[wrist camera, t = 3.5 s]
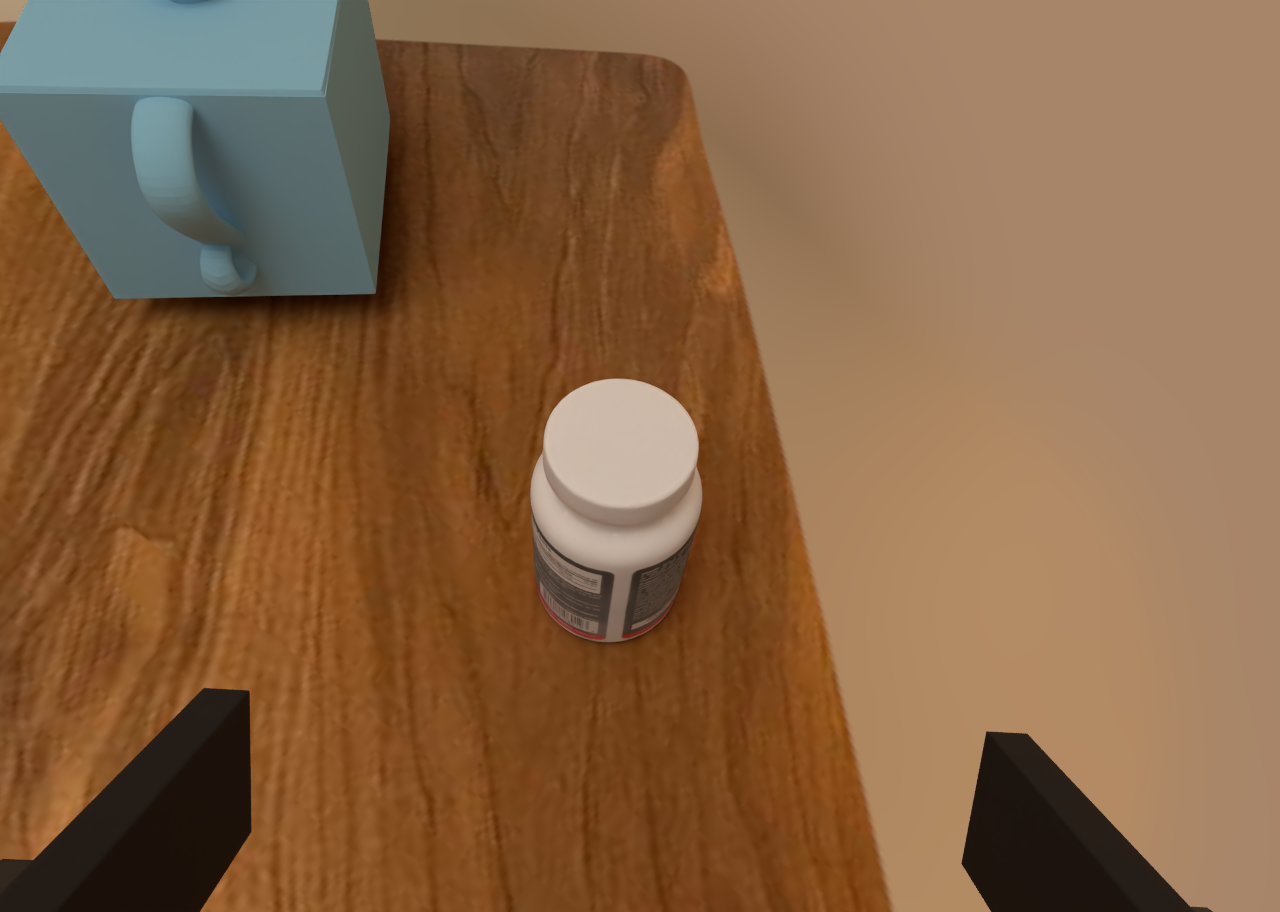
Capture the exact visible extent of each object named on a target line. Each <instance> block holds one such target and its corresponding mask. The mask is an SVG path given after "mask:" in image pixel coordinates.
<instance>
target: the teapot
mask: <svg viewBox="0 0 1280 912" xmlns="http://www.w3.org/2000/svg"><path fill="white" fill-rule="evenodd" d="M0 120H1V121H2V123H3V125H4V126H5V128H6V129H7V131H8V132H9V134H10V136H11V137H12V139H13V140H14V142H15V143H16V145H17V147H18V148H19V150H20V151H21V153H22V154H23V156H24V157H25V159H26V161H27V162H28V164H29V165H30V167H31V168H32V170H33V172H34V173H35V175H36V176H37V178H38V179H39V181H40V183H41V184H42V186H43V187H44V189H45V190H46V192H47V194H48V195H49V197H50V198H51V200H52V201H53V203H54V204H55V206H56V208H57V209H58V211H59V212H60V214H61V215H62V217H63V219H64V220H65V222H66V223H67V225H68V226H69V228H70V230H71V231H72V233H73V234H74V236H75V237H76V239H77V240H78V242H79V244H80V245H81V247H82V248H83V250H84V251H85V253H86V255H87V256H88V258H89V259H90V261H91V262H92V264H93V266H94V267H95V269H96V270H97V272H98V273H99V275H100V277H101V278H102V280H103V281H104V283H105V284H106V286H107V287H108V289H109V291H110V292H111V294H112V295H113V297H114V298H115V299H135V298H185V297H239V296H287V295H343V294H376V285H377V274H378V262H379V251H380V239H381V227H382V216H383V204H384V192H385V179H386V167H387V155H388V142H389V129H390V114H389V109H388V103H387V98H386V93H385V87H384V82H383V77H382V72H381V66H380V61H379V56H378V50H377V45H376V40H375V34H374V29H373V24H372V18H371V13H370V8H369V3H368V0H28V2H27V4H26V6H25V8H24V10H23V11H22V13H21V15H20V17H19V19H18V21H17V23H16V25H15V26H14V28H13V30H12V32H11V34H10V36H9V38H8V40H7V42H6V44H5V46H4V47H3V49H2V51H1V53H0Z"/></svg>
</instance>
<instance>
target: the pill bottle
mask: <svg viewBox="0 0 1280 912" xmlns="http://www.w3.org/2000/svg"><path fill="white" fill-rule="evenodd" d="M698 449H699V443H698V435H697V432H696V428H695V426H694V423H693V421H692V419H691V417H690V416H689V414H688V413H687V411H686V410H685V409H684V408H683V406H682V405H681V404H680V403H679V402H678V401H677V400H676V399H674V398H673V397H672V396H670V395H669V394H667V393H666V392H664V391H663V390H661V389H659V388H657V387H655V386H652V385H650V384H647V383H644V382H640V381H635V380H629V379H607V380H601V381H596V382H592V383H589V384H587V385H584V386H582V387H580V388H578V389H576V390H574V391H572V392H571V393H570V394H568V395H567V396H566V397H565V398H563V399H562V400H561V401H560V403H559V404H558V405H557V406H556V407H555V408H554V410H553V412H552V413H551V415H550V417H549V419H548V422H547V424H546V428H545V432H544V444H543V453H542V454H541V456H540V458H539V459H538V461H537V464H536V466H535V469H534V472H533V476H532V481H531V492H530V501H531V516H532V530H533V546H534V563H535V578H536V585H537V589H538V593H539V596H540V599H541V601H542V603H543V605H544V607H545V608H546V610H547V611H548V613H549V614H550V615H551V617H552V618H553V619H554V620H555V621H556V622H557V623H558V624H559V625H561V626H562V627H563V628H564V629H566V630H567V631H569V632H571V633H572V634H574V635H576V636H579V637H581V638H584V639H588V640H592V641H598V642H619V641H625V640H628V639H632V638H635V637H637V636H640V635H642V634H644V633H645V632H647V631H649V630H650V629H652V628H653V627H654V626H656V625H657V624H658V623H659V622H660V621H661V620H662V619H663V618H664V617H665V615H666V614H667V613H668V611H669V610H670V608H671V606H672V605H673V602H674V601H675V598H676V596H677V593H678V590H679V586H680V582H681V579H682V576H683V572H684V569H685V565H686V562H687V558H688V555H689V551H690V548H691V544H692V541H693V537H694V534H695V530H696V527H697V524H698V521H699V517H700V512H701V505H702V485H701V479H700V475H699V472H698V470H697V467H696V464H697V459H698Z"/></svg>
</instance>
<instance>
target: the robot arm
mask: <svg viewBox="0 0 1280 912" xmlns="http://www.w3.org/2000/svg"><path fill="white" fill-rule="evenodd" d="M250 833H251V767H250V694H249V691H246V690H228V689H210V688H204V689H203V690H202V691H201V692H200V693H199V694H198V695H197V696H196V697H195V698H194V699H193V700H192V701H191V702H190V703H189V704H188V705H187V706H186V707H185V708H184V709H183V710H182V711H181V712H180V713H179V714H178V715H177V716H176V717H175V718H174V719H173V720H172V721H171V722H170V723H169V724H168V725H167V726H166V727H165V728H164V729H163V730H162V731H161V732H160V733H159V734H158V735H157V736H156V737H155V738H154V739H153V740H152V741H151V742H150V743H149V744H148V745H147V746H146V747H145V748H144V749H143V750H142V751H141V752H140V753H139V754H138V755H137V756H136V757H135V758H134V759H133V760H132V761H131V762H130V763H129V764H128V765H127V766H126V767H125V768H124V769H123V770H122V771H121V772H120V773H119V774H118V775H117V776H116V777H115V778H114V779H113V780H112V781H111V782H110V783H109V784H108V785H107V786H106V787H105V788H104V789H103V790H102V792H101V793H100V794H99V795H98V796H97V797H96V798H95V799H94V800H93V801H92V802H91V803H90V804H89V805H88V806H87V807H86V808H85V809H84V810H83V811H82V812H81V813H80V814H79V815H78V816H77V817H76V818H75V819H74V820H73V821H72V822H71V823H70V824H69V825H68V826H67V827H66V828H65V829H64V830H63V831H62V832H61V833H60V834H59V835H58V836H57V837H56V838H55V839H54V840H53V841H52V842H51V843H50V844H49V845H48V846H47V847H46V848H45V849H44V850H43V851H42V852H41V853H40V854H39V855H38V856H37V857H36V858H35V859H34V860H14V859H2V860H0V912H200V910H201V909H202V907H203V906H204V904H205V903H206V901H207V900H208V898H209V897H210V895H211V893H212V892H213V890H214V889H215V887H216V886H217V884H218V883H219V881H220V879H221V878H222V876H223V875H224V873H225V872H226V870H227V869H228V867H229V865H230V864H231V862H232V861H233V859H234V858H235V856H236V855H237V853H238V852H239V850H240V848H241V847H242V845H243V844H244V842H245V841H246V839H247V838H248V836H249V834H250ZM962 865H963V867H964V868H965V870H966V871H967V873H968V875H969V876H970V878H971V880H972V881H973V883H974V885H975V886H976V888H977V889H978V891H979V893H980V894H981V896H982V898H983V899H984V901H985V902H986V904H987V906H988V907H989V909H990V910H991V912H1212V911H1211V910H1210V909H1208V908H1203V907H1190V906H1189V905H1188V904H1187V903H1186V902H1185V901H1184V900H1183V899H1182V898H1181V897H1180V896H1179V894H1178V893H1177V892H1176V891H1175V890H1174V889H1173V888H1172V887H1171V886H1170V885H1169V884H1168V883H1167V882H1166V881H1165V880H1164V879H1163V878H1162V877H1161V875H1160V874H1159V873H1158V872H1157V871H1156V870H1155V869H1154V868H1153V867H1152V866H1151V865H1150V864H1149V863H1148V862H1147V860H1146V859H1145V858H1144V857H1143V856H1142V855H1141V854H1140V853H1139V852H1138V851H1137V850H1136V849H1135V848H1134V847H1133V846H1132V845H1131V844H1130V842H1128V840H1127V839H1126V838H1125V837H1124V836H1123V835H1122V834H1121V833H1120V832H1119V831H1118V830H1117V829H1116V828H1115V827H1114V826H1113V824H1111V822H1110V821H1109V820H1108V819H1107V818H1106V817H1105V816H1104V815H1103V814H1102V813H1101V812H1100V811H1099V810H1098V809H1097V807H1096V806H1095V805H1094V804H1093V803H1092V802H1091V801H1090V800H1089V799H1088V798H1087V797H1086V796H1085V795H1084V794H1083V793H1082V792H1081V790H1080V789H1079V788H1078V787H1077V786H1076V785H1075V784H1074V783H1073V782H1072V781H1071V780H1070V779H1069V778H1068V777H1067V776H1066V775H1065V773H1064V772H1063V771H1062V770H1061V769H1060V768H1059V767H1058V766H1057V765H1056V764H1055V763H1054V762H1053V761H1052V760H1051V759H1050V758H1049V757H1048V755H1046V754H1045V752H1044V751H1043V750H1041V748H1040V747H1039V746H1038V745H1037V744H1036V743H1035V742H1034V741H1033V740H1032V738H1031V737H1030V736H1029V735H1028V734H1022V733H1003V732H986V737H985V742H984V747H983V753H982V758H981V763H980V769H979V774H978V779H977V785H976V790H975V795H974V800H973V806H972V811H971V816H970V821H969V827H968V833H967V837H966V843H965V848H964V854H963V859H962Z"/></svg>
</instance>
